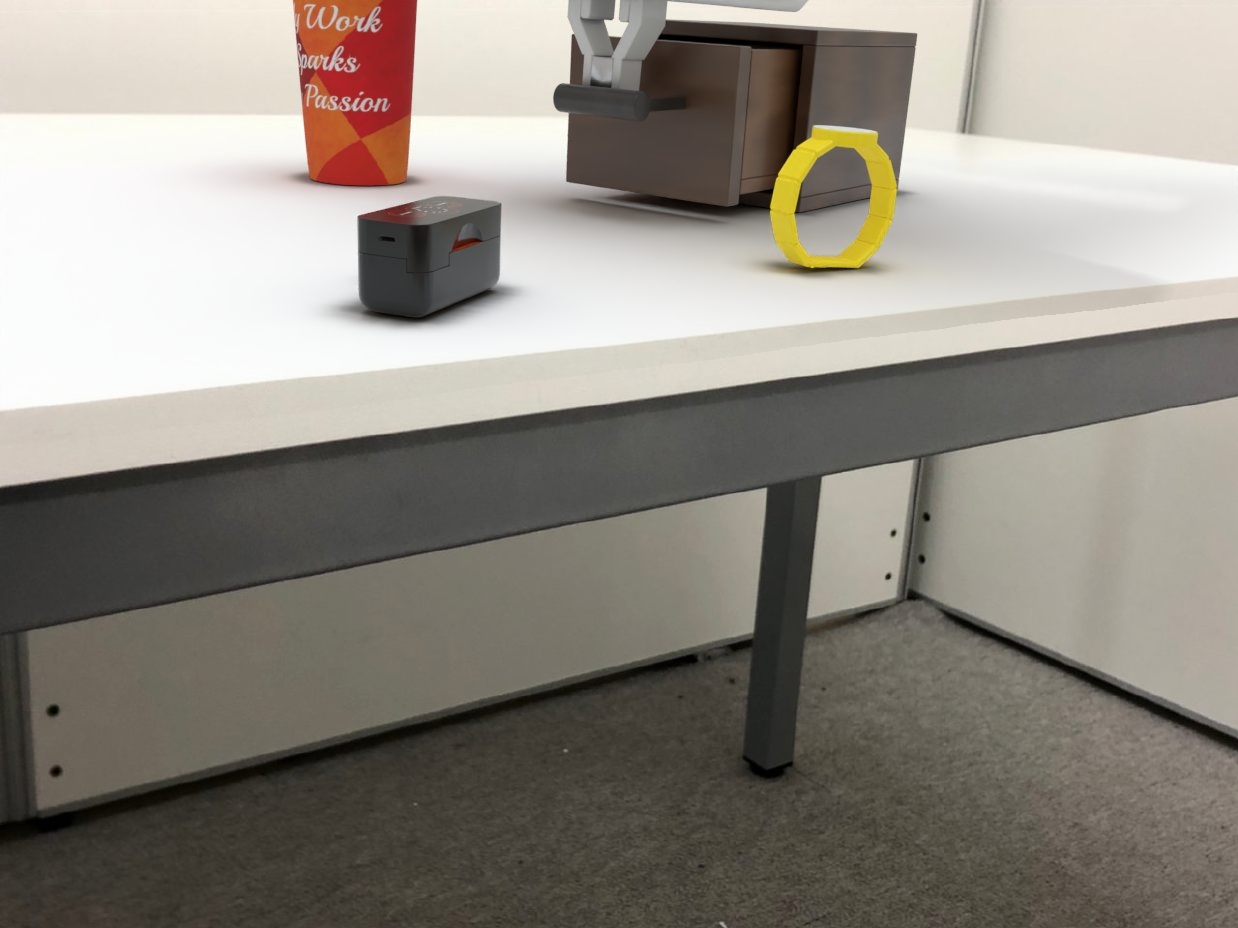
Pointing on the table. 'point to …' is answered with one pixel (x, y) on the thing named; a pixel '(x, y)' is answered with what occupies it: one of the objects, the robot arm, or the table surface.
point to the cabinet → (831, 96)
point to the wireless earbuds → (428, 254)
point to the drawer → (686, 121)
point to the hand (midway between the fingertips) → (609, 94)
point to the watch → (797, 171)
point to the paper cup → (356, 88)
